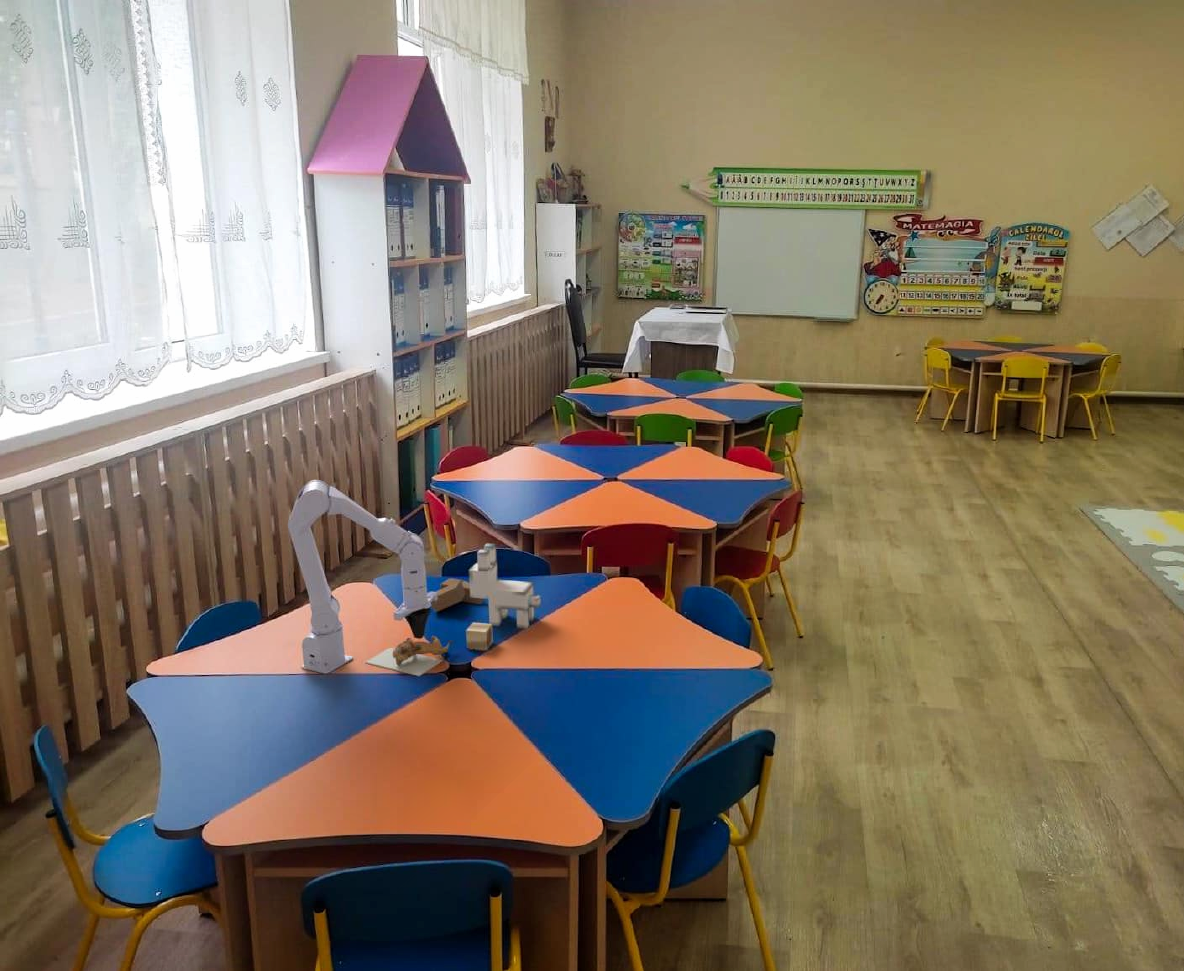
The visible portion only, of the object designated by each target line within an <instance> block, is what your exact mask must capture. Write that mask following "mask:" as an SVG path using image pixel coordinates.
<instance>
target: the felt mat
mask: <svg viewBox="0 0 1184 971" xmlns="http://www.w3.org/2000/svg"><path fill="white" fill-rule="evenodd" d="M393 650H395V648H393V647H388V648H387V649H384V650H383V651H381V652H380V653H378V654H376V655H375V656H373V657H372V658H370V659H368V660H366V661H365V664H367V665H371V666H376V667H379V668H383V669H387V670H391V671H397V672H400V673H405V674H408V675H413V676H416V677H421V676H422V675H424V674H426V673H427V672H428V671H430V670H431V669H433V668H434V667H436V666H437V665H439V664H441V663H442V662H443V659H439V658H437V657H436V658H435V657H431V656H426V655H424V654H415V655H413V656H411V657H410V658H408V659H407V660H404V661H403V662H402V664H401V665H400V666H398V665H397V664H396V659H395V658H393V656H392V655H393ZM441 661H442V662H441ZM440 662H441V663H440Z"/></svg>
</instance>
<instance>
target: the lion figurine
mask: <svg viewBox="0 0 1184 971" xmlns="http://www.w3.org/2000/svg"><path fill="white" fill-rule="evenodd" d="M431 641H433V642H432V643H431V642H426V641H414V640H412V638H411V637H407V638H406V640H404V641H402V642H400V643H399V644H398V645H397V646H395V648H394V649H395V650H393V655H392V656H393V658H395V659H396V664H397V665H398V666H400V665H401V664H402V662H403V661H404V660H407V659H408V658H410V657H411V656H413V655H415V654H419V655H427V654H432V655H434V656H440V655H442V654H446V653H448V651H449V650H448V649H449V647H450V645H451V644H454V642H455V641H454V640H450V641H449V642H448V643H447V645H446V646H445V647H443V644H442V643H441V641H440V639H438V637H437V636H435V635H432V636H431Z"/></svg>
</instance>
